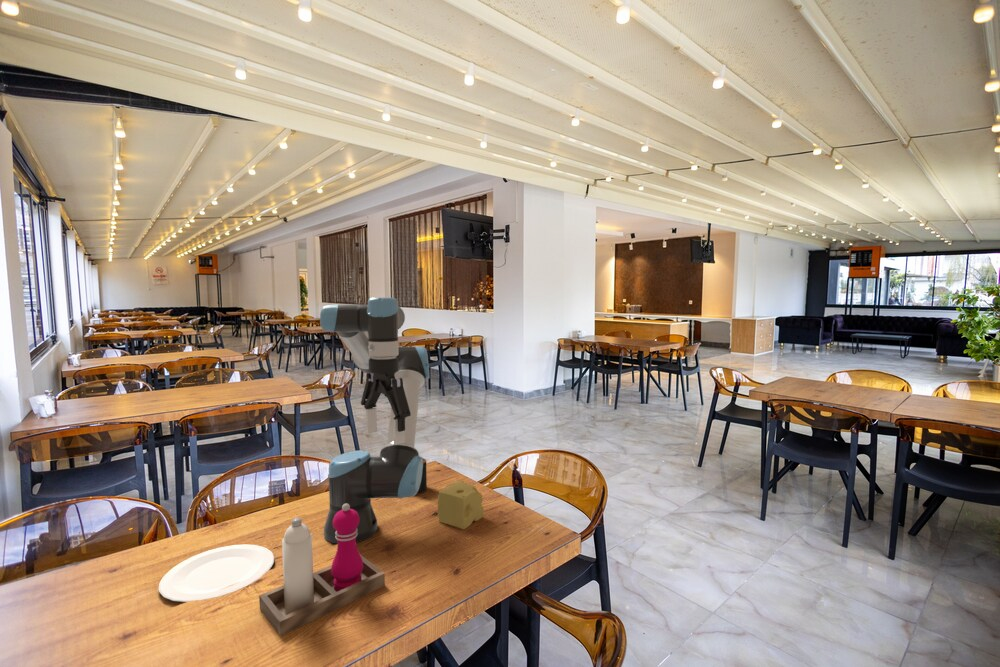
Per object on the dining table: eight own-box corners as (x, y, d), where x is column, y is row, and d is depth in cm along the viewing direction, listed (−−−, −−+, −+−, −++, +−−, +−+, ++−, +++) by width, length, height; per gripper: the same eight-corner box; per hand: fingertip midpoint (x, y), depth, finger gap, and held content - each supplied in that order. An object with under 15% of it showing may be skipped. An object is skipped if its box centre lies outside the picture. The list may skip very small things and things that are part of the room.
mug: (409, 499, 164) (408, 470, 163) (401, 487, 175) (400, 459, 174) (432, 495, 167) (432, 466, 166) (423, 483, 178) (422, 456, 177)
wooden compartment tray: (280, 641, 96) (279, 621, 96) (259, 613, 105) (259, 595, 104) (384, 590, 113) (384, 573, 113) (359, 569, 122) (359, 554, 121)
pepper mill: (354, 596, 109) (352, 512, 107) (325, 592, 110) (323, 509, 109) (368, 578, 116) (367, 498, 114) (341, 575, 117) (339, 496, 116)
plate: (256, 540, 137) (256, 534, 137) (289, 576, 119) (289, 569, 119) (149, 575, 120) (149, 568, 120) (170, 623, 102) (169, 616, 102)
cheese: (483, 517, 151) (483, 486, 150) (463, 531, 142) (463, 498, 141) (457, 509, 156) (457, 479, 156) (436, 522, 147) (436, 491, 146)
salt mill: (280, 607, 105) (276, 519, 103) (307, 595, 109) (304, 510, 107) (291, 621, 101) (287, 529, 99) (318, 607, 105) (316, 519, 103)
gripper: (347, 354, 129) (348, 430, 131) (397, 363, 112) (399, 451, 113) (371, 352, 135) (373, 425, 136) (424, 360, 117) (425, 445, 118)
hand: (385, 437), depth 125 cm, fingers open, 13 cm apart
